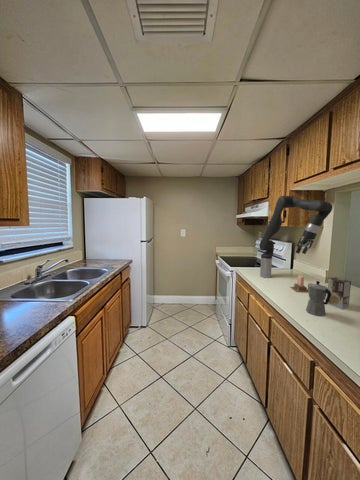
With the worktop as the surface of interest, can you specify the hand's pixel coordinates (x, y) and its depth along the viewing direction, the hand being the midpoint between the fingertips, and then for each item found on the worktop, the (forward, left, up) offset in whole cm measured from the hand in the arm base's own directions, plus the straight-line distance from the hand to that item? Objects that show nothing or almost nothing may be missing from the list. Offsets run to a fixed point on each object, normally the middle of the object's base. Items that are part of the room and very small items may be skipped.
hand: (300, 253), depth 139 cm
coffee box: (+17, +16, -29) cm, 37 cm away
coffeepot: (+30, -2, -29) cm, 42 cm away
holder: (-7, +5, -29) cm, 30 cm away
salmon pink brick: (-7, +5, -28) cm, 29 cm away
